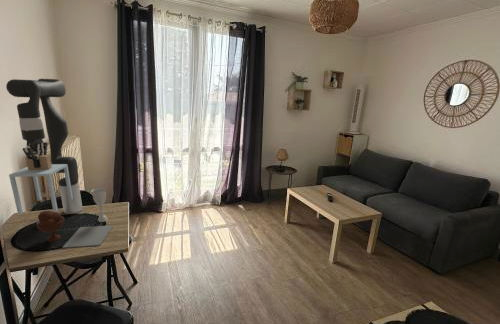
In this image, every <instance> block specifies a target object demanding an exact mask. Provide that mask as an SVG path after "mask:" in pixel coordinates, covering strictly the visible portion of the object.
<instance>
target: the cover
mask: <svg viewBox="0 0 500 324" xmlns="http://www.w3.org/2000/svg"><path fill="white" fill-rule="evenodd" d="M35 156H36V155H35ZM25 160H26V165H27V166H26V167H24V168H21V169H18V170H16V171H14V172H12V173H9V174H8V176H9V181H10V185H11V190H12V194H13V198H14V202H15V207H16V211H17V215H21V214H23V213H24V210H23V206H22V202H21V199H20V194H19V189H18V185H17V180H16V178H17V177H19V178H21V177H22V178H23V177H32V181H33V185H34V190H35V195H36V200H37V202H39V201H43V198H42V193H41V188H40V183H39V177H46V179H47V185H48V190H49V194H50V195H49V196H50V201H51V205H52V206H51V207H52V211H53V212H58V211H59V210H58V204H57V197H56V192H55V188H54V182H53V177H52V176H53V175H54V174H56V172H58V171H60V170H62V169H63V168H64V172H65V173H64V178H66V184H67V190H68V196H69V200H72V199H73V196H72V190H71V184H70V178H69V172H68V166H67V164H51V154H49V155H48V154H46V155H39V160H40V165H41V167H40V168H35V167H34V164H33V160H31V159H28V158H27V156H25Z"/></svg>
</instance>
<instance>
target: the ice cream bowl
mask: <svg viewBox="0 0 500 324" xmlns="http://www.w3.org/2000/svg"><path fill="white" fill-rule="evenodd" d="M37 219H38V221H37V222H35V225H36V228H37V229H38V231H40V232H42V233H43V232H44V233H48V234H49V233H50V236H48V237H47V238H46V242H49V243H53V242H56V241H58V240H60V239H61V238H62V237H61V235H60V234H56V232H57V231H59V230H60V228H62V227H63V225H64V224H65V220H66V219H65V217H64V216H62V214H61V213H59V212H58V211H57V212H53V210H52V211H51V210H43V211H41V212H40V213H39V214H38V215H37Z"/></svg>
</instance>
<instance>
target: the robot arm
mask: <svg viewBox="0 0 500 324" xmlns="http://www.w3.org/2000/svg"><path fill="white" fill-rule="evenodd" d="M5 88H6V91H7V93H9V94H10V95H12V96H13V97H15V98H29V100H28V101H27V102H21V103H18V104H17V105H16V108H17V114H18V118H19V128H20V133H21V138H22V139H23V141H26V147H23V148H22V151H23V153H24V154H25V157H27V158H28V159H31V160H33V164H34V167H35V168H40V167H41V165H40V160H39V155H48V144H49V151H50V161H51V164H67V166H68V172H69V178H70V184H71V190H72V196H73V199H72V200H69V196H68V190H67V184H66V178H65V177H62V178H60V179H59V180H58V186H59V192H60V199H61V204H62V209H63V213H64V214H65V215H72V214H73V215H74V214H77V213H80V212H81V211H83V203H82V202H83V201H82V197H81V191H80V183H79V170H78V169H79V168H78V161H77V159H76V158H75V157H73V156H63V155H62V148H63V145H64V143H65V141H66V140H67V138H68V135H69V129H68V125H67V124H68V123H67V120H66V118H65V117H64V116H62V115H61V113H60V112H59V111H57V109H56V108H55V106H54V105H53V103H52V100H51V98H63V97H65V95H66V94H67V93H66V86H65V83H64V82H63V80H61V79H58V78H56V79H55V78H38V79H37V80H36V79H35V80H34V79H16V78H15V79H14V78H13V79H9V80H8V81H7V83H6V87H5ZM40 102H41V105H42V110H43V116H44V120H45V127H46V134H47V137H48V142H49V143H48V142H44V139H45V138H46V135H45V130H44V124H43V121H42V120H43V119H42V117H41V112H40ZM35 155H36V156H35ZM56 173H57V174H58V173H59V174H65V172H64V168H63V169H62V170H60V171H58V172H56ZM56 173H55V174H56Z"/></svg>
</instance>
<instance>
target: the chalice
mask: <svg viewBox="0 0 500 324" xmlns="http://www.w3.org/2000/svg"><path fill="white" fill-rule="evenodd" d="M106 191H107V188H105V187H96V188H93V189H92V190H90V192H91V193H92V198H93V201H94V203H95V205H96V206H98V207H99V213H100V216H99V217H98V219H97V222H98V221H99V222H98V223H104V222H107V221H108V220H109V219H108V217H107V216H106V215H105V214H104V211H103V206H104V205H105V203H106V198H107V193H106Z"/></svg>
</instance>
